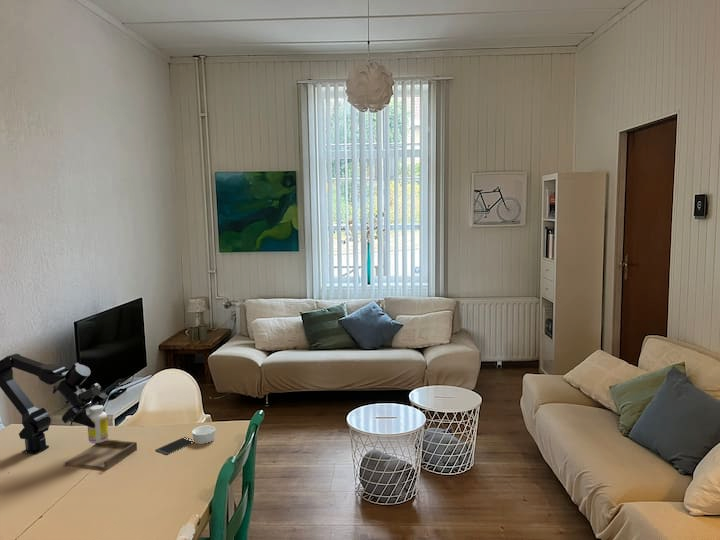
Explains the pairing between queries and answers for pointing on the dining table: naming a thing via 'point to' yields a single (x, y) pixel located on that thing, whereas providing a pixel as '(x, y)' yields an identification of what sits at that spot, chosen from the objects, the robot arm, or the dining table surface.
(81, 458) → the dock board
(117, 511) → the dining table surface
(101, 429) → the supplement bottle
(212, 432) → the ramekin
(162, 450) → the cell phone
